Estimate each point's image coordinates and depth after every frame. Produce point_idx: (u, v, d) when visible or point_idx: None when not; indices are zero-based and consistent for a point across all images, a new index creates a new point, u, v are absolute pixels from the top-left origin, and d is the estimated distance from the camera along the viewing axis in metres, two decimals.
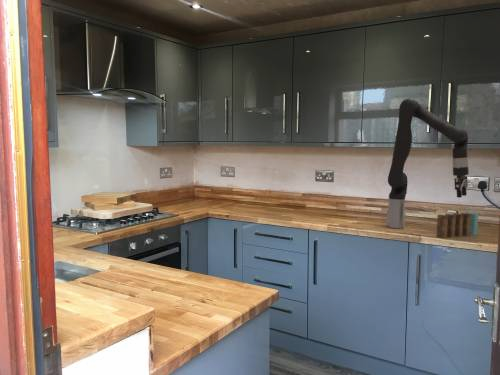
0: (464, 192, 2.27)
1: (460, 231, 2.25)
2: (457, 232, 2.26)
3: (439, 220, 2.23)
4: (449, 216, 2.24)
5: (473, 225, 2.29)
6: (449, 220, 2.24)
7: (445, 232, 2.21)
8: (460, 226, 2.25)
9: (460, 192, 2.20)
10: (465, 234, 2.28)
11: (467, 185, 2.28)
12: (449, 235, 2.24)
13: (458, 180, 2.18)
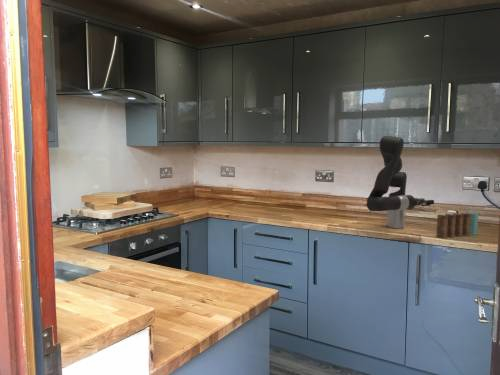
0: None
1: (460, 231, 2.25)
2: (457, 232, 2.26)
3: (439, 220, 2.23)
4: (449, 216, 2.24)
5: (473, 225, 2.29)
6: (449, 220, 2.24)
7: (445, 232, 2.21)
8: (460, 226, 2.25)
9: None
10: (465, 234, 2.28)
11: None
12: (449, 235, 2.24)
13: None
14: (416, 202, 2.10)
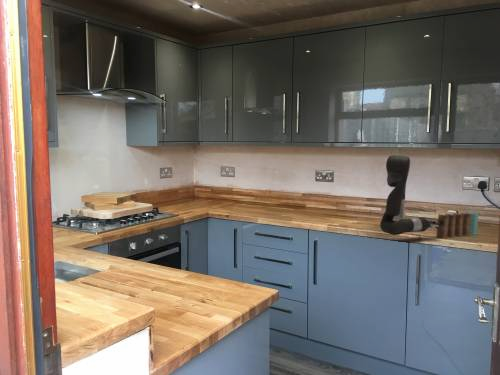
0: None
1: (460, 231, 2.25)
2: (457, 232, 2.26)
3: (440, 220, 2.23)
4: (449, 216, 2.24)
5: (473, 225, 2.29)
6: (449, 220, 2.24)
7: (445, 232, 2.21)
8: (460, 226, 2.25)
9: None
10: (465, 234, 2.28)
11: None
12: (449, 235, 2.24)
13: None
14: (429, 224, 2.15)
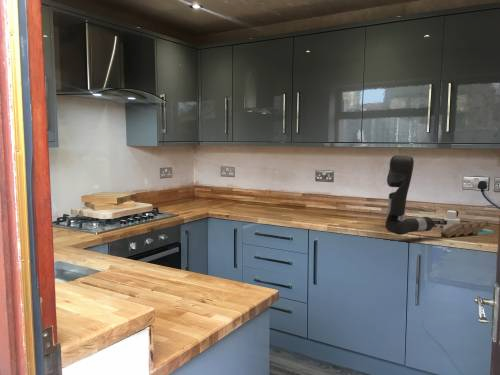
0: None
1: (468, 231, 2.27)
2: None
3: (455, 225, 2.27)
4: (467, 223, 2.29)
5: (483, 231, 2.33)
6: (464, 225, 2.28)
7: (452, 233, 2.23)
8: (471, 229, 2.28)
9: None
10: None
11: (443, 226, 2.19)
12: None
13: None
14: (433, 224, 2.16)
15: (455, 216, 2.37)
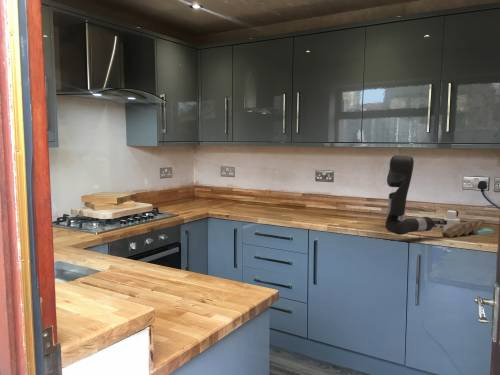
0: None
1: (468, 230, 2.28)
2: None
3: (456, 225, 2.28)
4: (467, 223, 2.30)
5: (483, 230, 2.34)
6: None
7: (454, 233, 2.23)
8: None
9: None
10: None
11: (443, 226, 2.19)
12: None
13: None
14: (433, 224, 2.16)
15: (455, 216, 2.37)
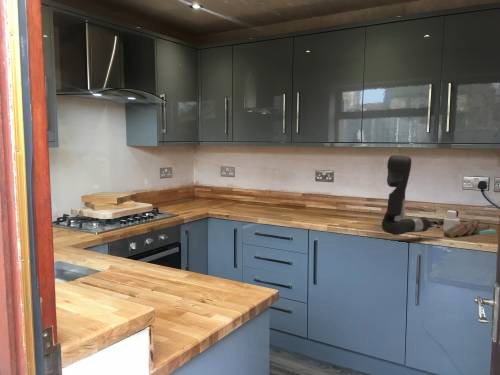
0: None
1: (471, 230, 2.29)
2: None
3: (457, 225, 2.28)
4: (469, 223, 2.30)
5: (485, 230, 2.34)
6: None
7: (455, 233, 2.23)
8: None
9: None
10: (477, 227, 2.32)
11: None
12: None
13: None
14: (430, 224, 2.15)
15: (455, 216, 2.37)
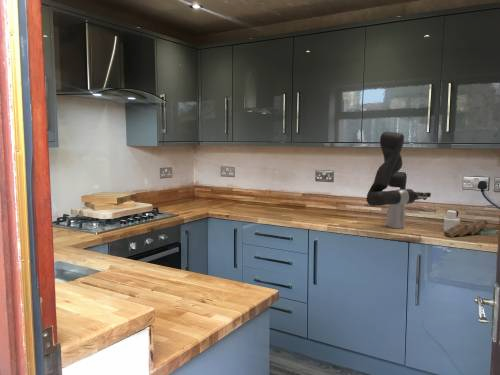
0: None
1: (475, 230, 2.29)
2: None
3: (458, 225, 2.28)
4: (471, 224, 2.30)
5: None
6: (468, 226, 2.30)
7: (456, 233, 2.24)
8: (478, 227, 2.30)
9: None
10: (484, 227, 2.31)
11: None
12: None
13: None
14: (416, 196, 2.10)
15: (455, 216, 2.37)
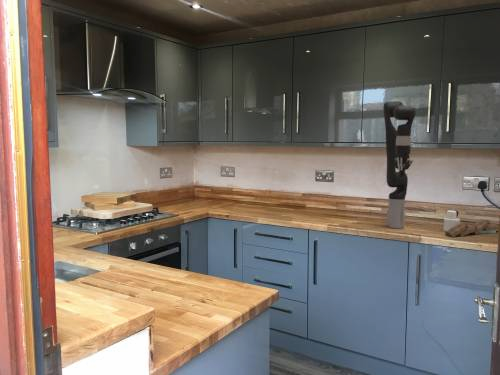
0: None
1: (479, 229, 2.31)
2: None
3: (458, 225, 2.29)
4: (472, 226, 2.31)
5: None
6: (469, 227, 2.30)
7: (457, 232, 2.24)
8: (482, 227, 2.32)
9: None
10: (487, 226, 2.34)
11: (404, 168, 2.18)
12: None
13: None
14: (408, 154, 2.17)
15: (455, 216, 2.37)
